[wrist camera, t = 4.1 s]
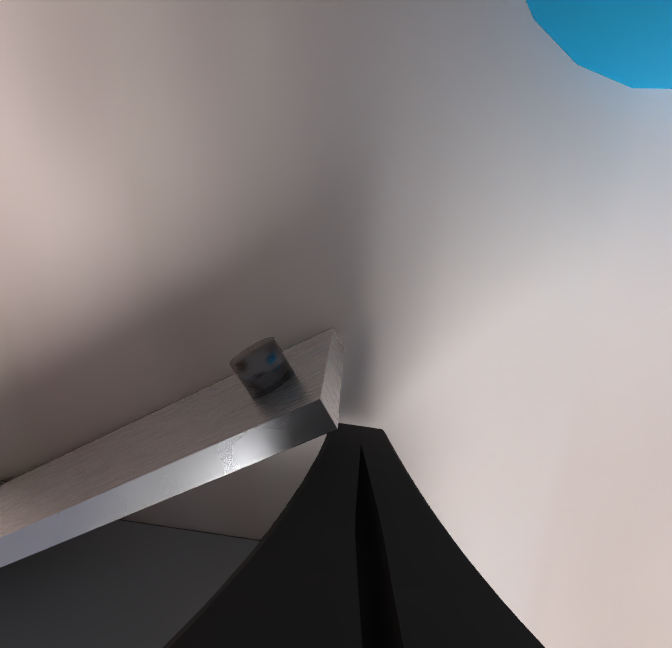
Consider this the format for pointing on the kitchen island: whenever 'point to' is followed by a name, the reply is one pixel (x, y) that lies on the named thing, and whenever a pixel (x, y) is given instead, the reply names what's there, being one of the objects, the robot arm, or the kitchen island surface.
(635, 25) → the mug
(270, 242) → the kitchen island surface
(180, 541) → the camera body
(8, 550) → the side door
